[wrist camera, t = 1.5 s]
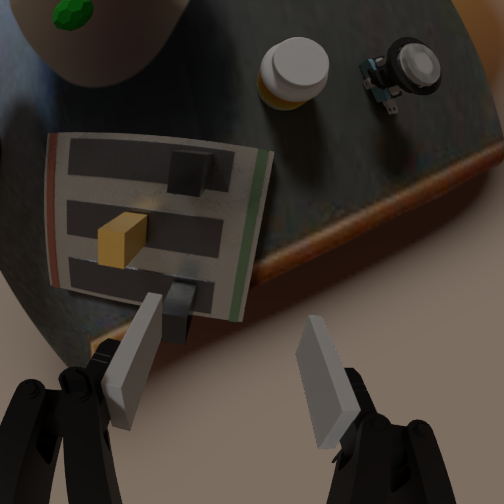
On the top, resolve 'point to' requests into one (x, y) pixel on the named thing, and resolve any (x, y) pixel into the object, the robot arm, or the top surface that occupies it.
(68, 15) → the polyhedron
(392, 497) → the robot arm
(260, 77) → the supplement bottle
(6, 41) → the top surface
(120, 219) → the block
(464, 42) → the top surface
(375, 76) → the push button
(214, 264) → the panel
